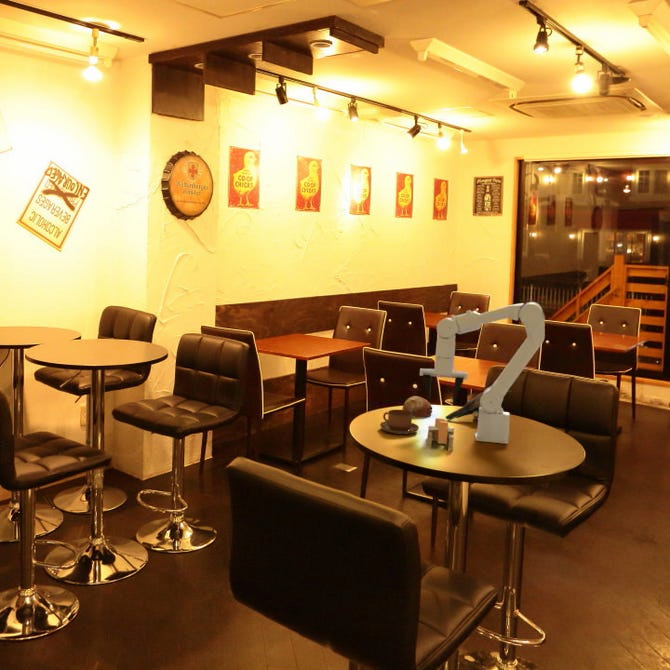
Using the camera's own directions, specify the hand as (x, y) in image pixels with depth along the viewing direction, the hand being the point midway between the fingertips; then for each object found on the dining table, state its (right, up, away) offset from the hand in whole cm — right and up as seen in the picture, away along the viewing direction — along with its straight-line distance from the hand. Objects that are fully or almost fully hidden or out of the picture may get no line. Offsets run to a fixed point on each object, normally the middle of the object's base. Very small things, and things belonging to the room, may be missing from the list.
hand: (441, 400), depth 224 cm
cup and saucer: (-13, -10, +1) cm, 17 cm away
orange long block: (-2, -11, -13) cm, 17 cm away
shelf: (-2, -12, -11) cm, 17 cm away
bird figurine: (+14, -9, +18) cm, 25 cm away
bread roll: (-5, -7, +24) cm, 26 cm away
